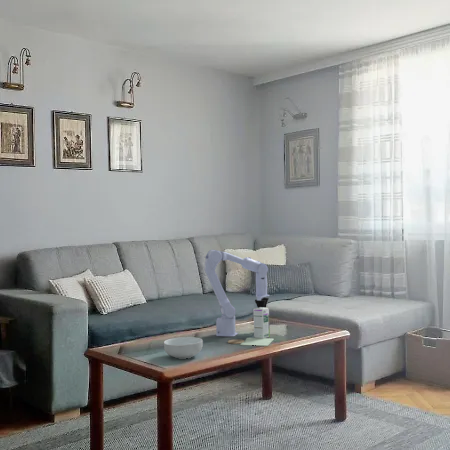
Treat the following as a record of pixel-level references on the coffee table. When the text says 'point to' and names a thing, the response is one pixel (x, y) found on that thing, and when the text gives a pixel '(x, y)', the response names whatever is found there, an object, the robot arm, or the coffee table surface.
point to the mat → (257, 341)
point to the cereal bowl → (183, 347)
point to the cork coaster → (235, 341)
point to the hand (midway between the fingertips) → (262, 312)
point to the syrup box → (261, 322)
